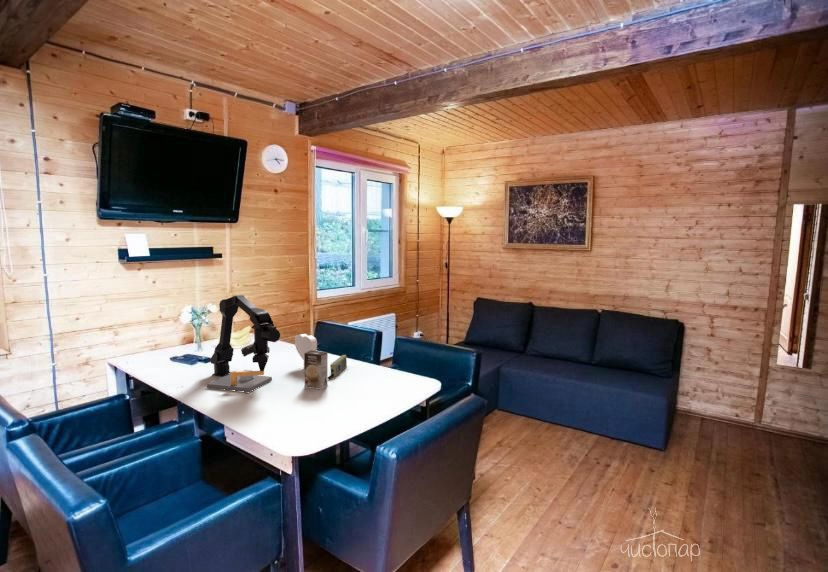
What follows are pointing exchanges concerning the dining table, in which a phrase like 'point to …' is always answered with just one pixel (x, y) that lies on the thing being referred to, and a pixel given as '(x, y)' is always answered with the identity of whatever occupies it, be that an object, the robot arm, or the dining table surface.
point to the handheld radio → (338, 366)
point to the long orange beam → (243, 373)
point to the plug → (246, 377)
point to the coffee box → (315, 369)
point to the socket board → (239, 383)
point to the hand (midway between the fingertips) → (261, 372)
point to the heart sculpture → (305, 344)
